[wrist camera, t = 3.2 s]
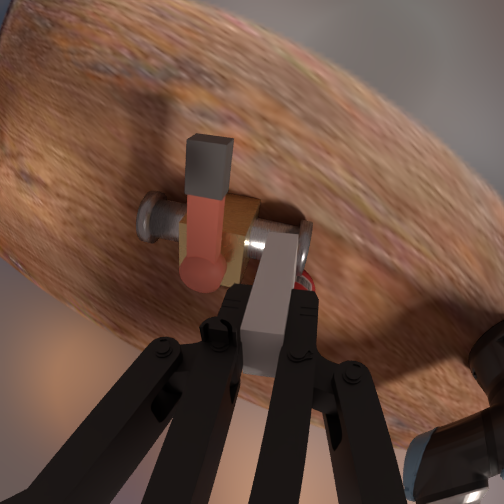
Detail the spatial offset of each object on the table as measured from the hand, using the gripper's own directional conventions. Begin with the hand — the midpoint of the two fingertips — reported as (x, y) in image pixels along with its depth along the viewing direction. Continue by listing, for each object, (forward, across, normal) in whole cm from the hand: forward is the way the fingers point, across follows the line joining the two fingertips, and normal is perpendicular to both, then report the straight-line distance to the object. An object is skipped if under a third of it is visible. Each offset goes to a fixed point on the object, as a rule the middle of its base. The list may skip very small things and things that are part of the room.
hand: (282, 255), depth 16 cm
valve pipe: (+18, +8, +8) cm, 22 cm away
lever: (+9, +7, +3) cm, 12 cm away
